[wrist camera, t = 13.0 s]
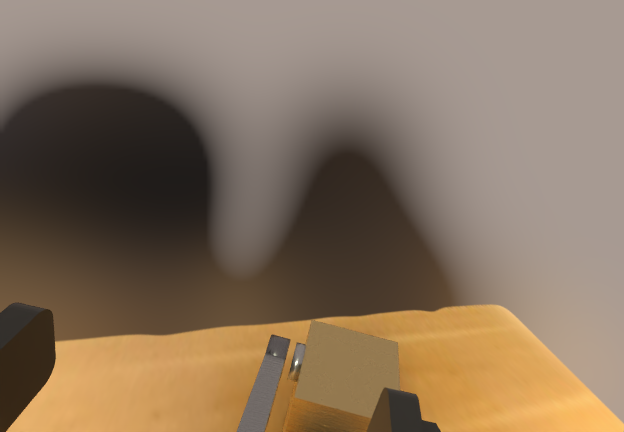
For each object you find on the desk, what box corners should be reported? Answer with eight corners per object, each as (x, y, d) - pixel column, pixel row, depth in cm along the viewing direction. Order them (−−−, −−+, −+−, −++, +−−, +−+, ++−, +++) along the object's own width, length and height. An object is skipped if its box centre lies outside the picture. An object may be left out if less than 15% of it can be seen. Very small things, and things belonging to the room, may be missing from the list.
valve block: (231, 598, 33) (264, 468, 26) (286, 384, 52) (313, 277, 45) (345, 631, 33) (409, 508, 26) (358, 403, 52) (396, 298, 45)
